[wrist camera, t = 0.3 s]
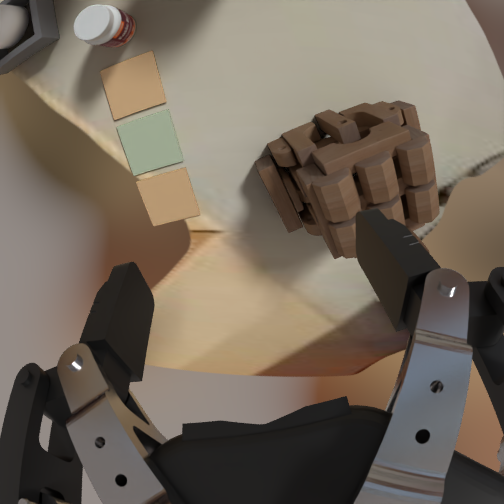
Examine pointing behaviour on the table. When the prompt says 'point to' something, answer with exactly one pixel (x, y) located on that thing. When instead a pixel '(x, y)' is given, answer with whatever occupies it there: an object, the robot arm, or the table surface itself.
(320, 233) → the wooden puzzle
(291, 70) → the table surface
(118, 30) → the pill bottle
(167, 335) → the table surface
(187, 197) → the track
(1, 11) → the dome plunger
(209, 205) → the table surface
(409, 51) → the table surface
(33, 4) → the grey open box
